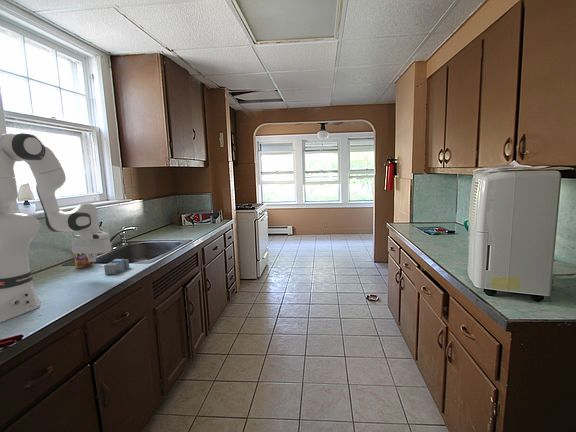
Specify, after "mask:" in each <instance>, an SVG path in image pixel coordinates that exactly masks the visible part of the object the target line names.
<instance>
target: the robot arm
mask: <svg viewBox="0 0 576 432" xmlns="http://www.w3.org/2000/svg"><path fill="white" fill-rule="evenodd" d="M23 161H24V162H25V163H26V164H27V165H28V166H29V169H30V171H31V172H32V174H33V177H34V179H35V183H36V186H35V187H36V189H35V190H36V194H37V196H38V200H39V202H40V205H41V207H42V210H43V213H44V219H45V224H46V227H47V228H48V229H49V230H50V231H51V232H53V233H62V232H78V233H79V234H75V235H74V236H72V237H71V253H72V254H74V253H86V256H87V257H88V259H89V262H93V263H94V262H97V257H98V255H99V254H108V253H110V252H111V251H112V243H111V239H110V233H108V232H105V231H103V230H100V225H99V213H98V208H97V206H96V204H95V205H94V204H93V203H84V202H83V203H79V204H78V205H77V207H75V208H74V209H72V210H70V211H64V210H62V209H60V207H59V203H58V201H57V198H56V191H57V190H58V189H60V188H61V187H62V186H63V185H64V184H65V182H66V180H67V177H66V173H65V171H64V169H63V166H62V164H61V162H60V161H59V159H58V157H57V156H56V154H55V153H54V151H53V150H52V149H51V148H50V146H48V145H45V144H43V142H42V140H41V139H40V138H38V137H37V136H36V135H34V134H31V133H28V132H27V133H26V132H20V133H15V132H13V133H12V132H10V133H4V134H0V324H1V323H3V322H5V321H8V320H10V319H13V318H16V317H18V316H21V315H23V314H26V313H29V312H31V311H33V310H36V309H38V308H40V307H41V301H40V299H39V297H38V294H37V292H36V289H35V287H34V284H33V279H34V278H33V277H34V276H33V273H32V270H31V268H30V262H29V248H30V245H31V242H32V241H33V239H34V238H36V237H37V236H38V234H39V232H40V228H41V225H40V221H39V220H38V218H37V217H36V216H33V215H31V214H26V213H22V212H21V213H20V212H17V213H16V212H15V213H14V212H13V213H11V212H10V209H11V206H12V204H13V202H15V201H16V200H17V199H18V197H19V193H18V186H17V180H16V175H15V170H14V166H15V163H16V162H23ZM91 253H92V256H91ZM92 257H93V258H92Z"/></svg>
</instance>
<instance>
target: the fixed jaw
mask: <svg viewBox="0 0 576 432" xmlns="http://www.w3.org/2000/svg"><path fill="white" fill-rule="evenodd" d="M123 259H124V262H125V270H128V269H130V262H129V258H127V259H126V258H123Z"/></svg>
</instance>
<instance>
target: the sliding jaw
mask: <svg viewBox="0 0 576 432" xmlns="http://www.w3.org/2000/svg"><path fill="white" fill-rule="evenodd" d="M103 267H104V273H105V275H117V274H119V273H120V272H122V271H121V270H122V269H121V263H120V262H116V263H112V262H108V263H105V264H104V265H103Z"/></svg>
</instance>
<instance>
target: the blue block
mask: <svg viewBox="0 0 576 432" xmlns="http://www.w3.org/2000/svg"><path fill="white" fill-rule="evenodd" d="M124 259H125V258H115V259H113V260H111V263H116V262H120V263H121V269H122V270H121V272H123V271H124V270H126V269H125V262H124Z"/></svg>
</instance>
